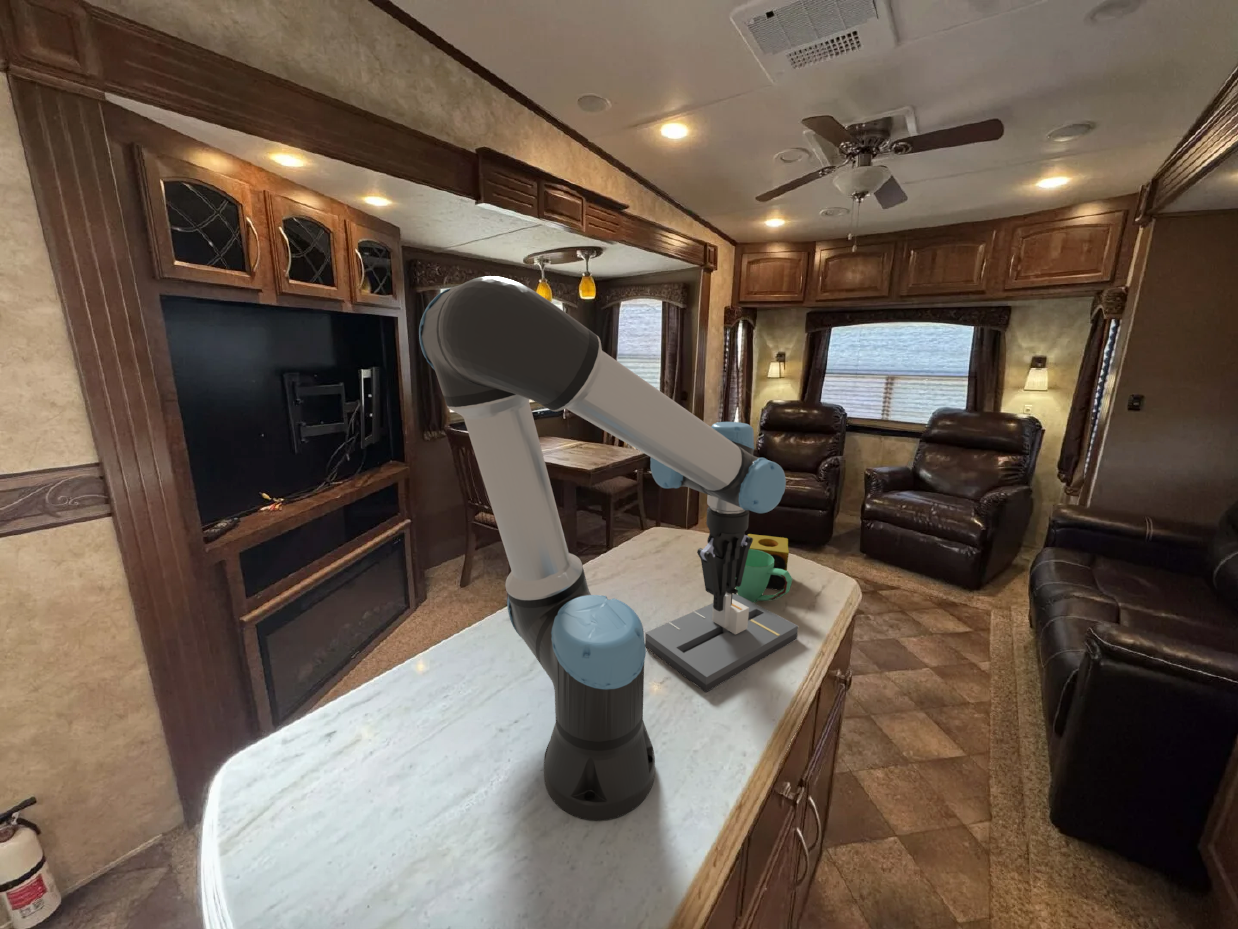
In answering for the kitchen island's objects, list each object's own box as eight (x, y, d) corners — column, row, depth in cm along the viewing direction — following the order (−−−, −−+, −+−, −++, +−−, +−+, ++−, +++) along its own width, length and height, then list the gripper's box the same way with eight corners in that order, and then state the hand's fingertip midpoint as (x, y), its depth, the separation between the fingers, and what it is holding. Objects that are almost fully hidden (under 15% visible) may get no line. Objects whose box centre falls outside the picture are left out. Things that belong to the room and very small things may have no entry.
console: (705, 692, 81) (706, 676, 81) (645, 646, 94) (645, 632, 93) (796, 639, 97) (798, 625, 96) (734, 605, 109) (735, 592, 108)
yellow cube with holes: (741, 585, 118) (744, 547, 116) (743, 568, 128) (746, 532, 125) (785, 592, 115) (789, 553, 113) (784, 573, 125) (787, 537, 122)
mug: (719, 597, 113) (721, 557, 110) (742, 583, 119) (744, 545, 117) (777, 622, 102) (781, 578, 100) (798, 605, 109) (803, 564, 107)
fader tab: (735, 641, 93) (737, 613, 91) (711, 627, 97) (713, 599, 96) (746, 635, 95) (749, 607, 93) (723, 621, 99) (725, 594, 98)
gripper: (719, 520, 81) (712, 644, 87) (767, 505, 89) (758, 620, 95) (687, 509, 87) (683, 625, 93) (735, 495, 95) (729, 604, 100)
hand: (721, 622), depth 94 cm, fingers closed
